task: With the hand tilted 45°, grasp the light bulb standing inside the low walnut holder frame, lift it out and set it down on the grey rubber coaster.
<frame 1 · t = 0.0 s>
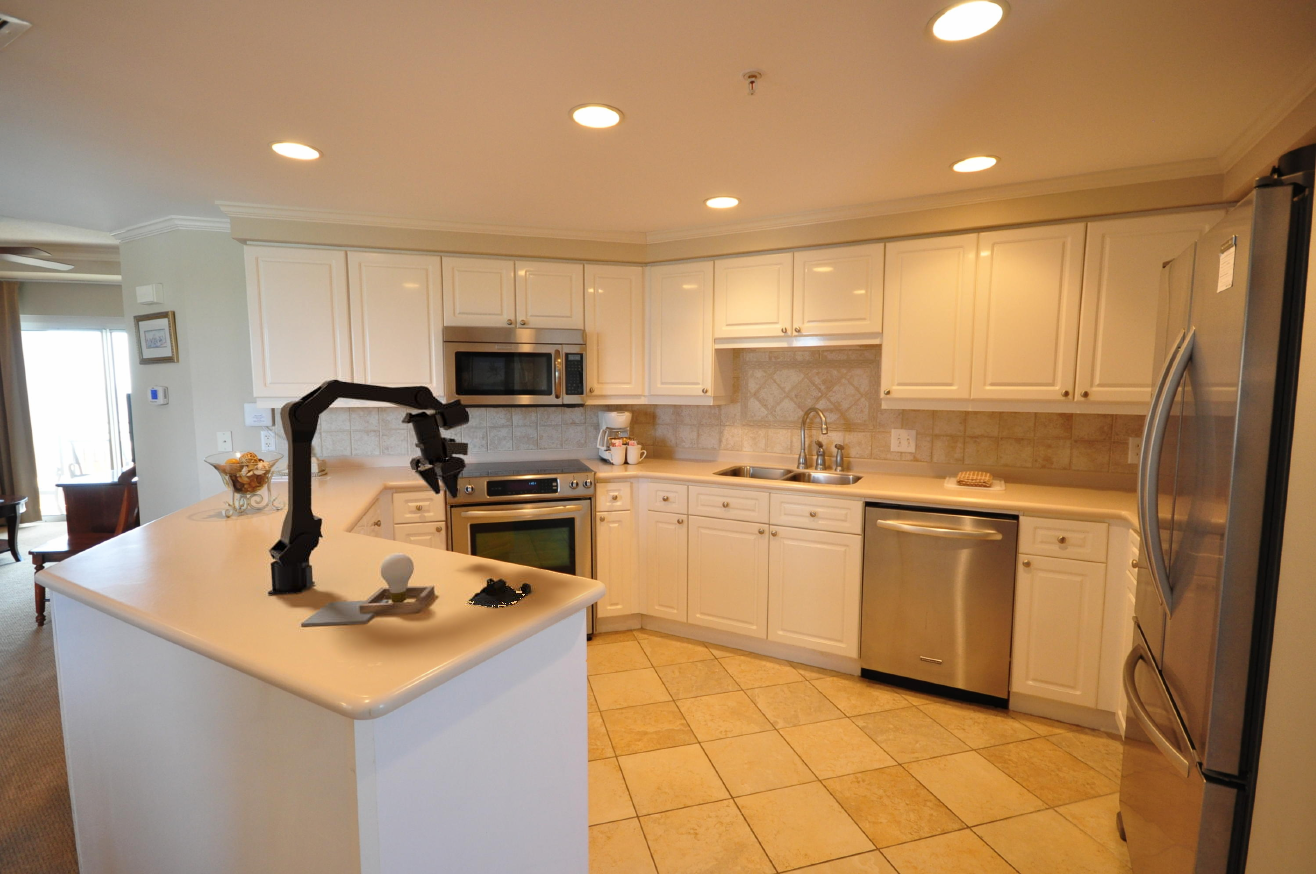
hand: (446, 495, 148), 15 cm above the table, tool pointing down, fingers open, 9 cm apart
light bulb: (399, 605, 115), resting in holder frame
black irregular lumpy piece: (500, 600, 119), on the table
holder frame: (399, 604, 115), on the table
coaster: (347, 613, 111), on the table
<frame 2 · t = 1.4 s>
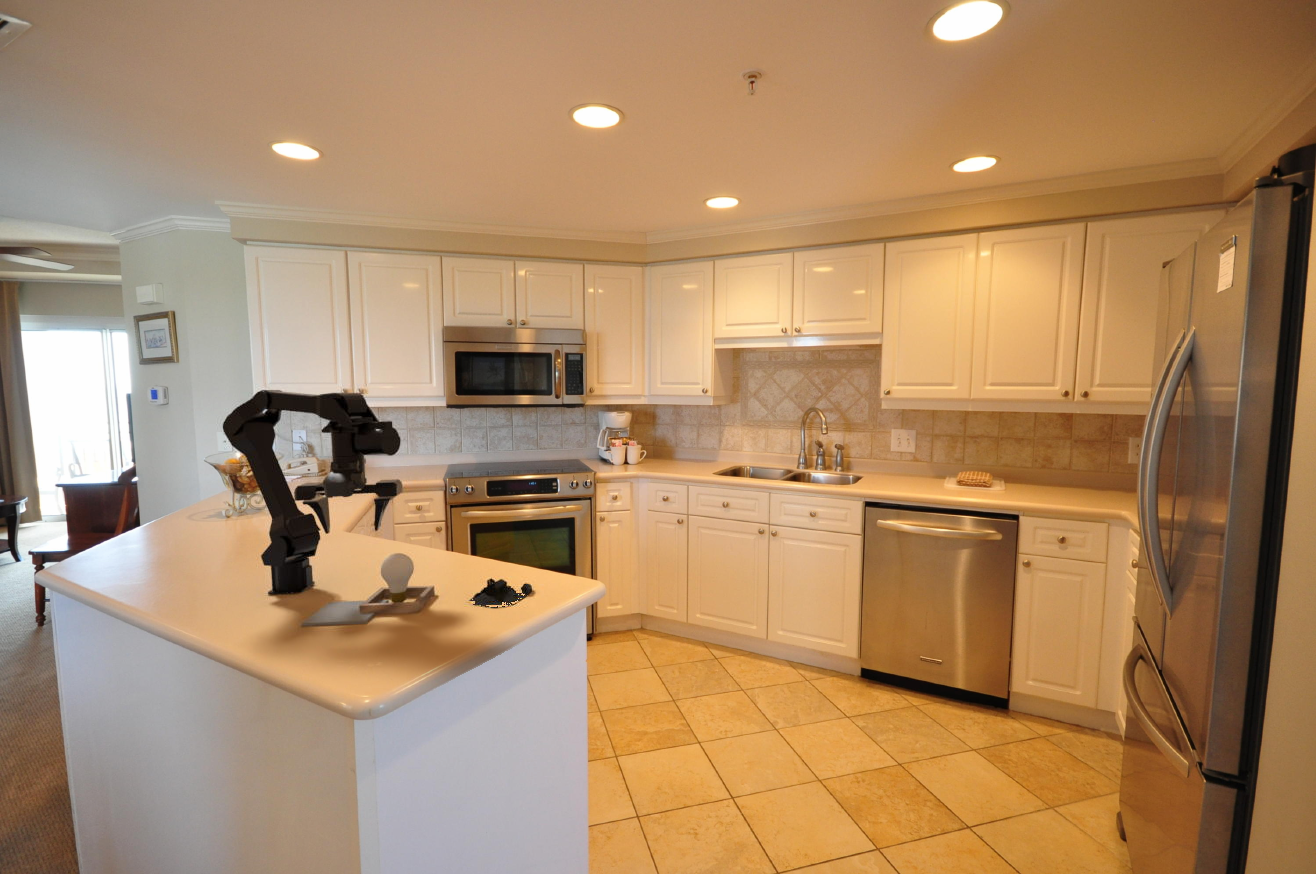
hand: (352, 531, 120), 13 cm above the table, tool pointing down, fingers open, 9 cm apart
nothing on the table moved.
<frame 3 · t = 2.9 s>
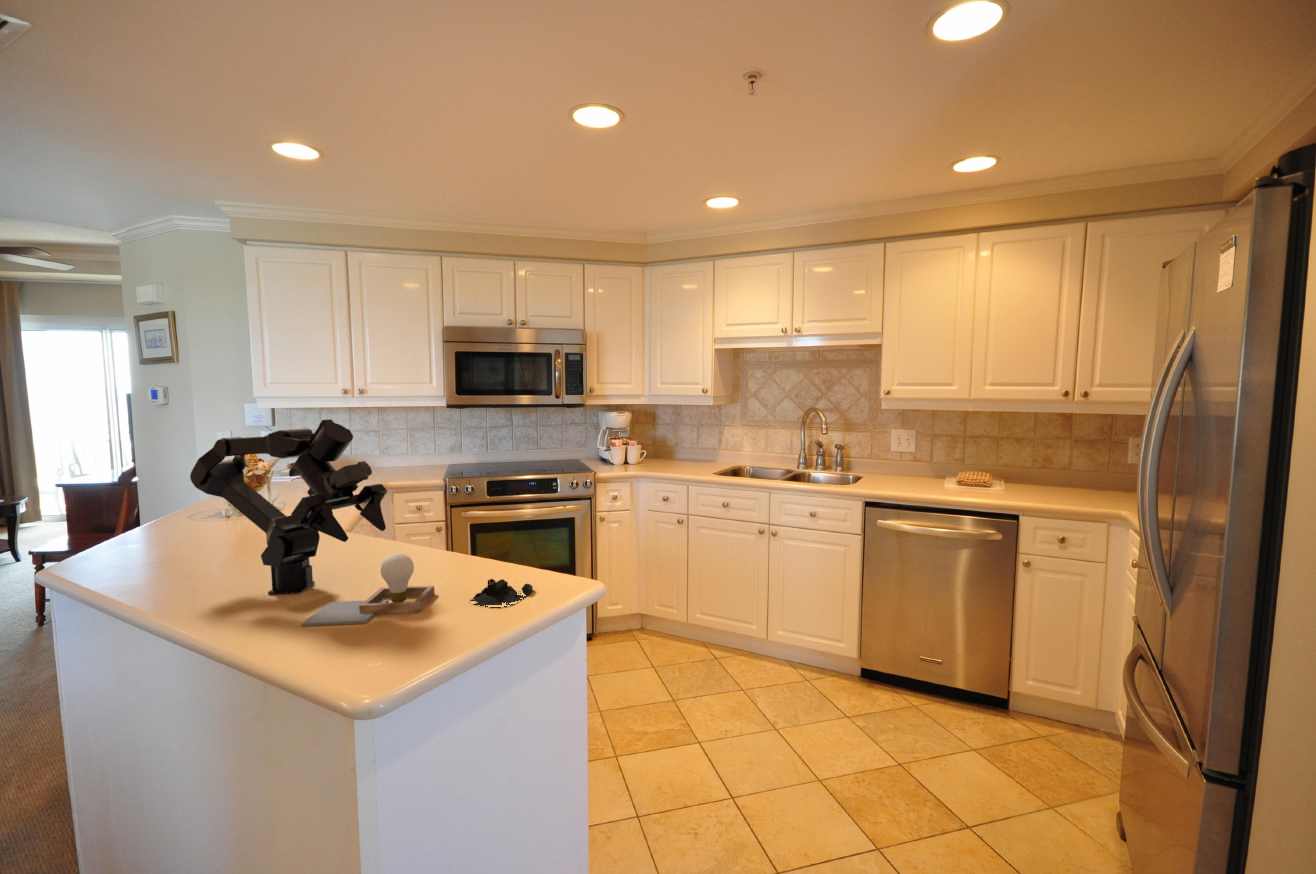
hand: (366, 534, 117), 13 cm above the table, tool tilted 45°, fingers open, 9 cm apart
nothing on the table moved.
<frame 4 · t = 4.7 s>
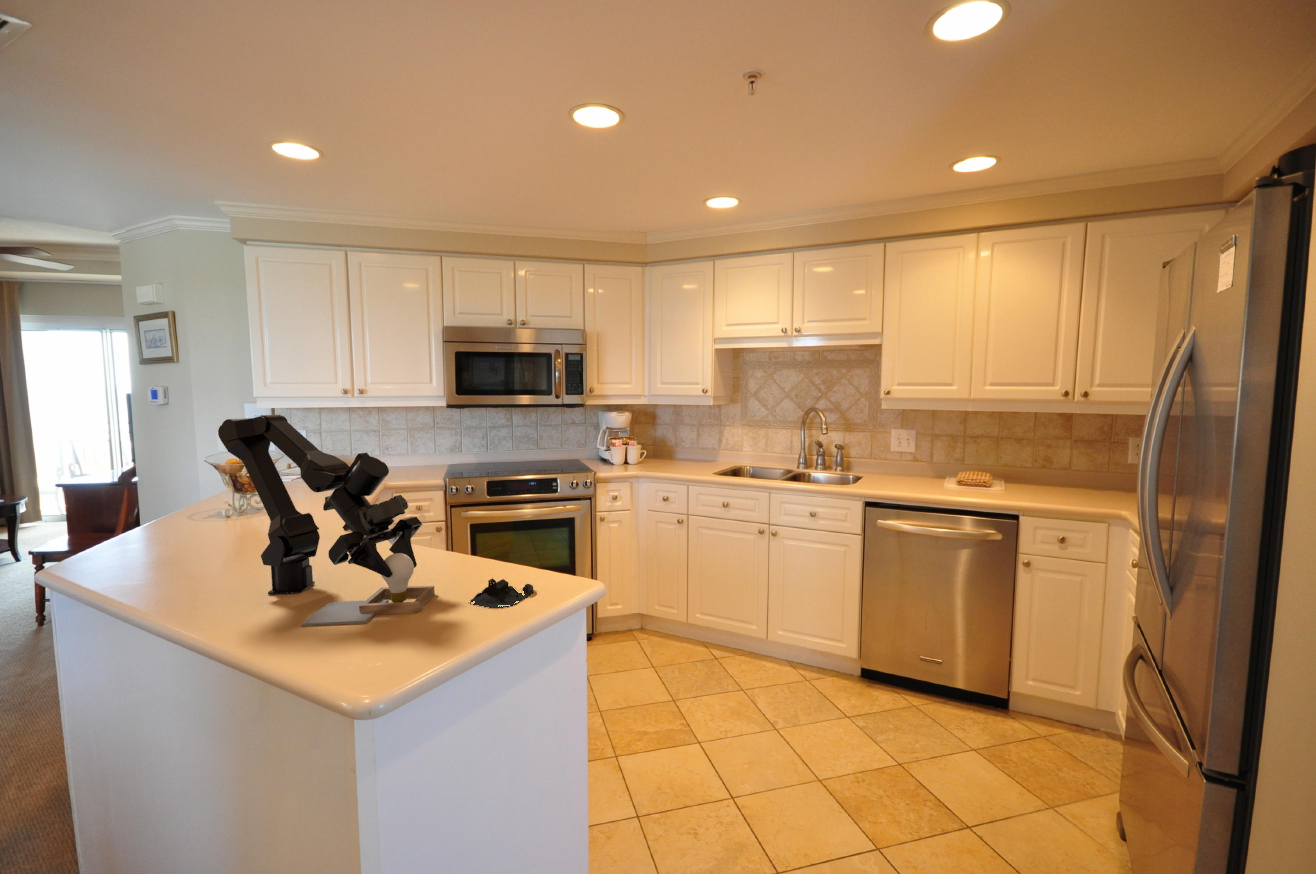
hand: (403, 571, 114), 7 cm above the table, tool tilted 45°, fingers closed on light bulb, 6 cm apart
light bulb: (399, 605, 115), resting in holder frame, touching gripper
everything else where it was.
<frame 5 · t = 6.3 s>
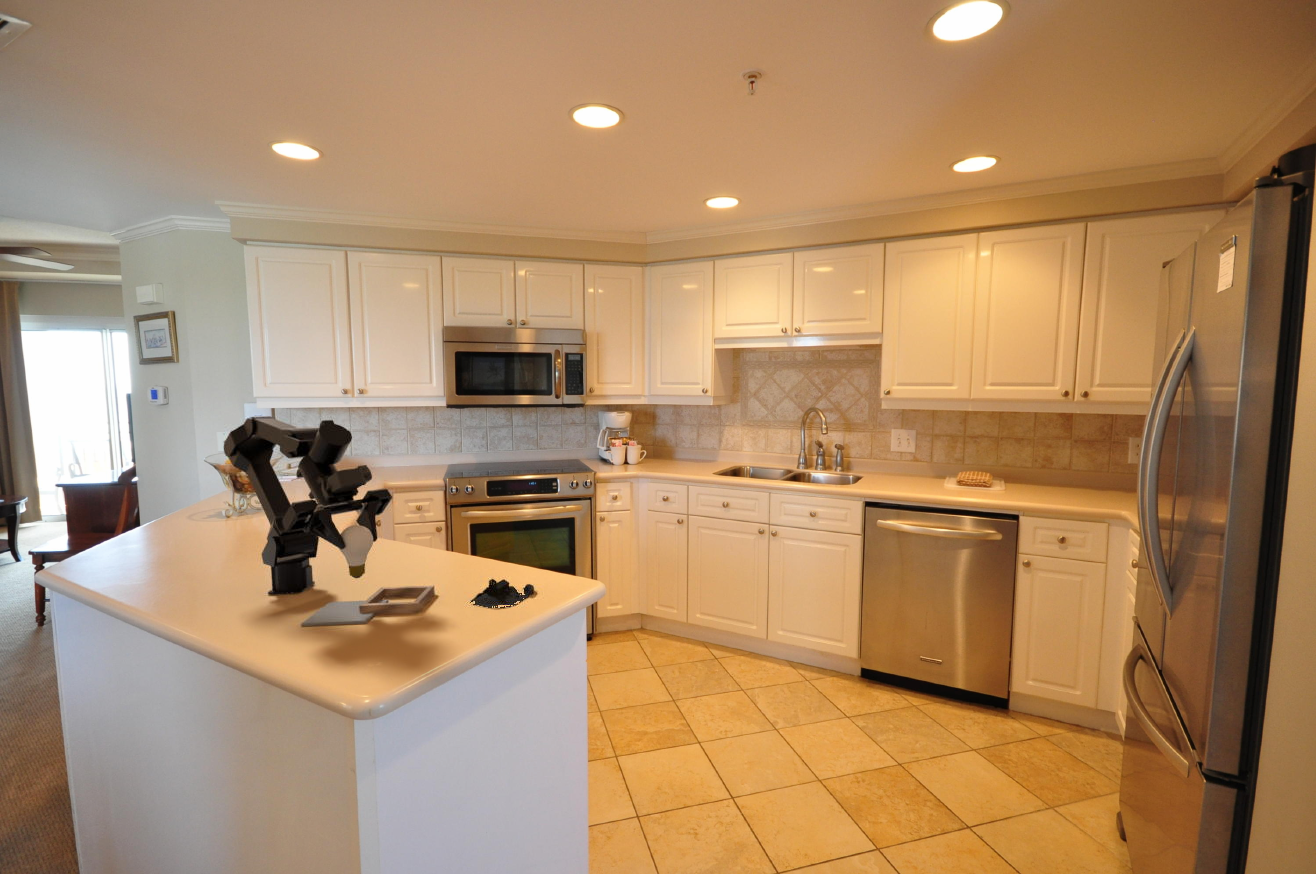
hand: (359, 544, 110), 13 cm above the table, tool tilted 45°, fingers closed on light bulb, 6 cm apart
light bulb: (357, 578, 112), point 6 cm above the table, touching gripper
everything else where it was.
when the fingers open (8 cm above the table, at t = 7.9 s): light bulb stays where it is, resting on coaster.
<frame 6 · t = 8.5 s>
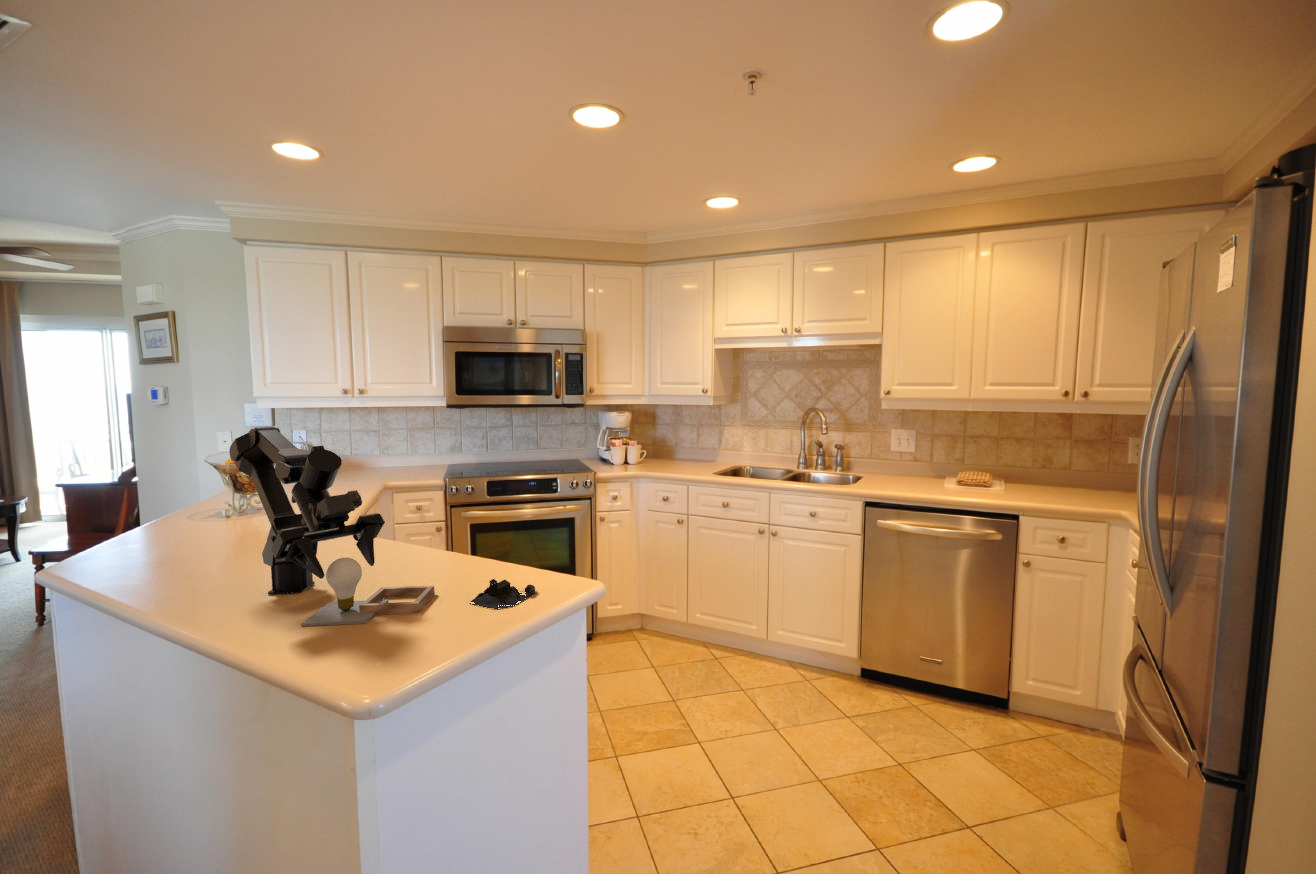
hand: (348, 570, 109), 8 cm above the table, tool tilted 45°, fingers open, 9 cm apart
light bulb: (346, 611, 111), resting on coaster
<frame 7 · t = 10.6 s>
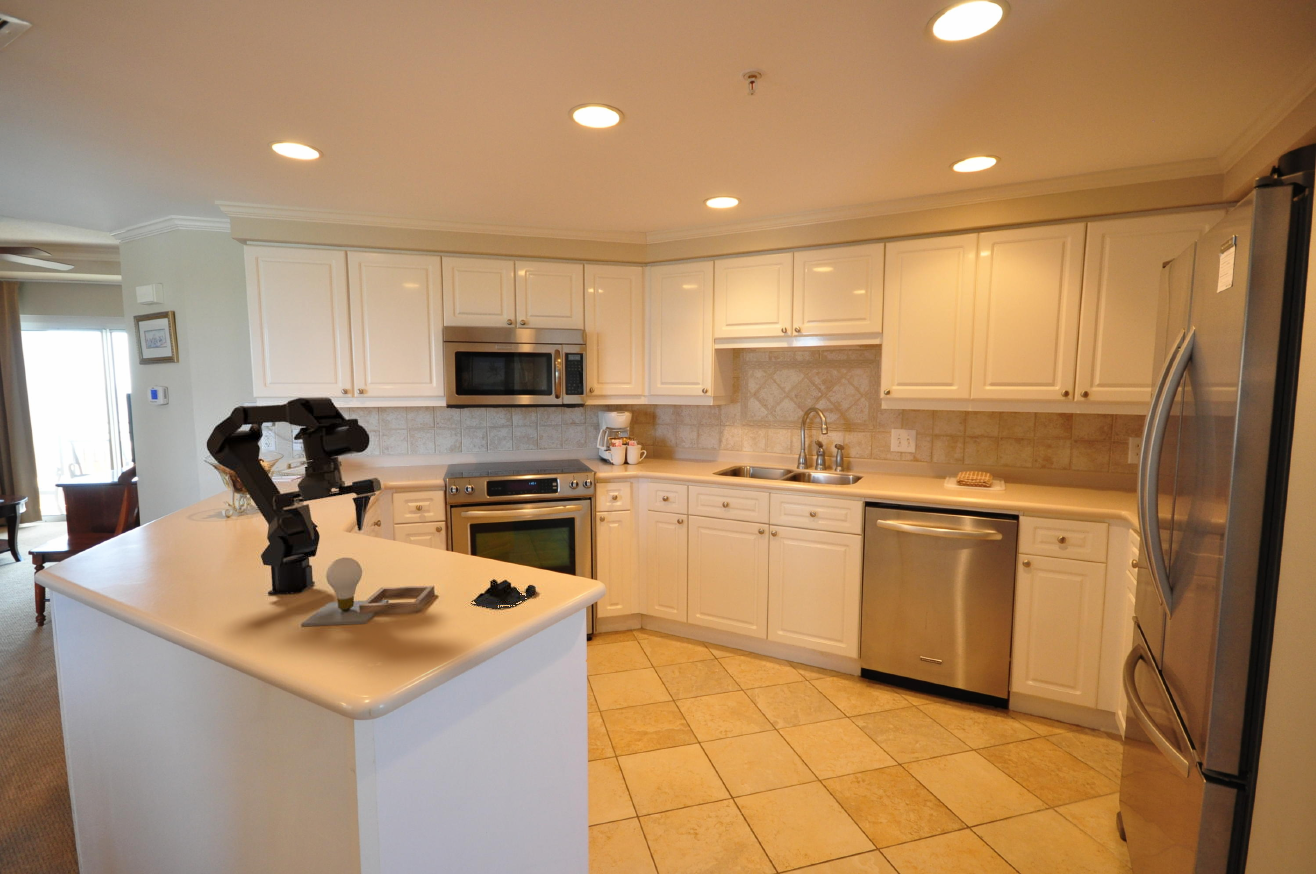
hand: (336, 534, 120), 12 cm above the table, tool pointing down, fingers open, 9 cm apart
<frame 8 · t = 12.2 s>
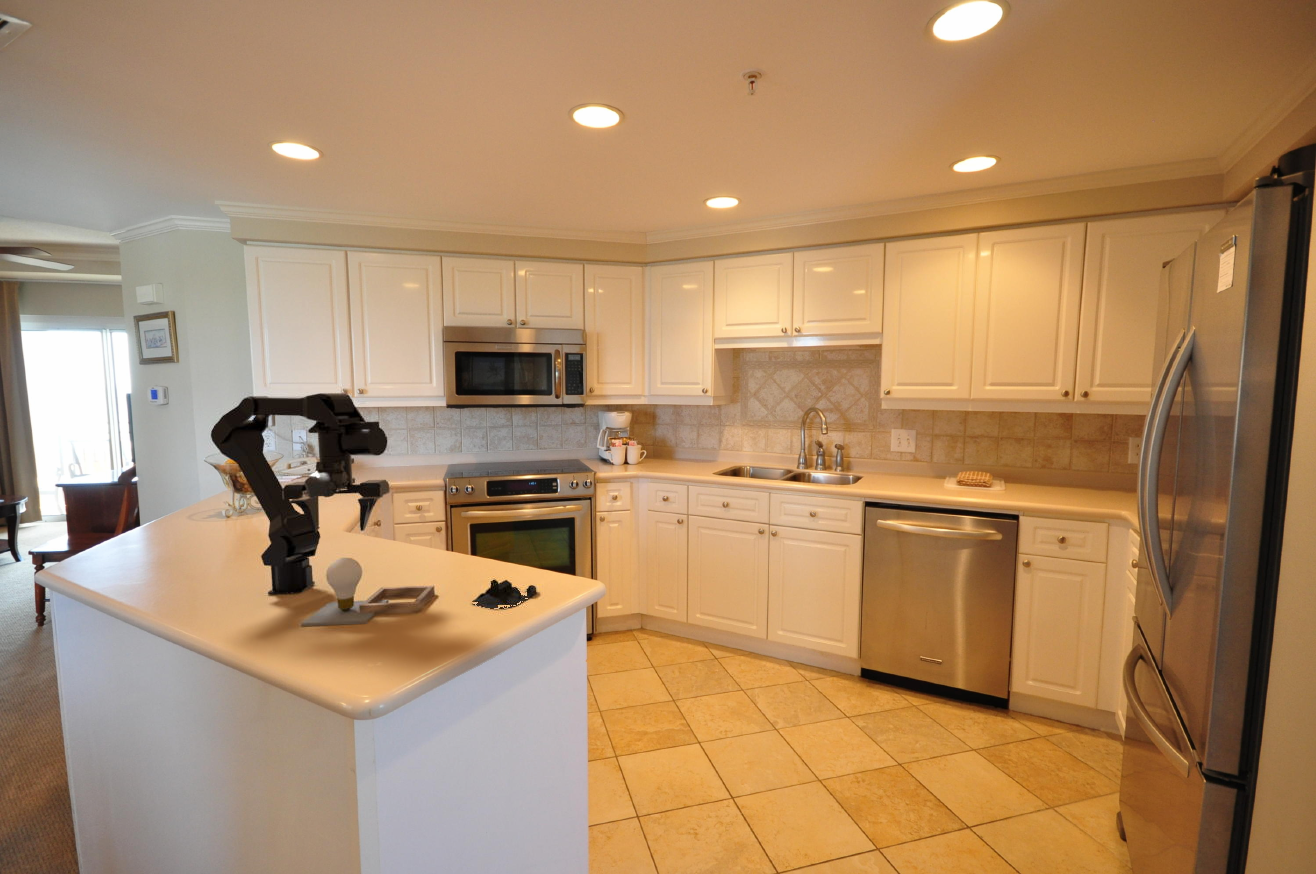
hand: (339, 531, 121), 13 cm above the table, tool pointing down, fingers open, 9 cm apart
at the end: light bulb 0.2 cm from the coaster (horizontally); light bulb resting on coaster; the gripper is holding nothing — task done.
